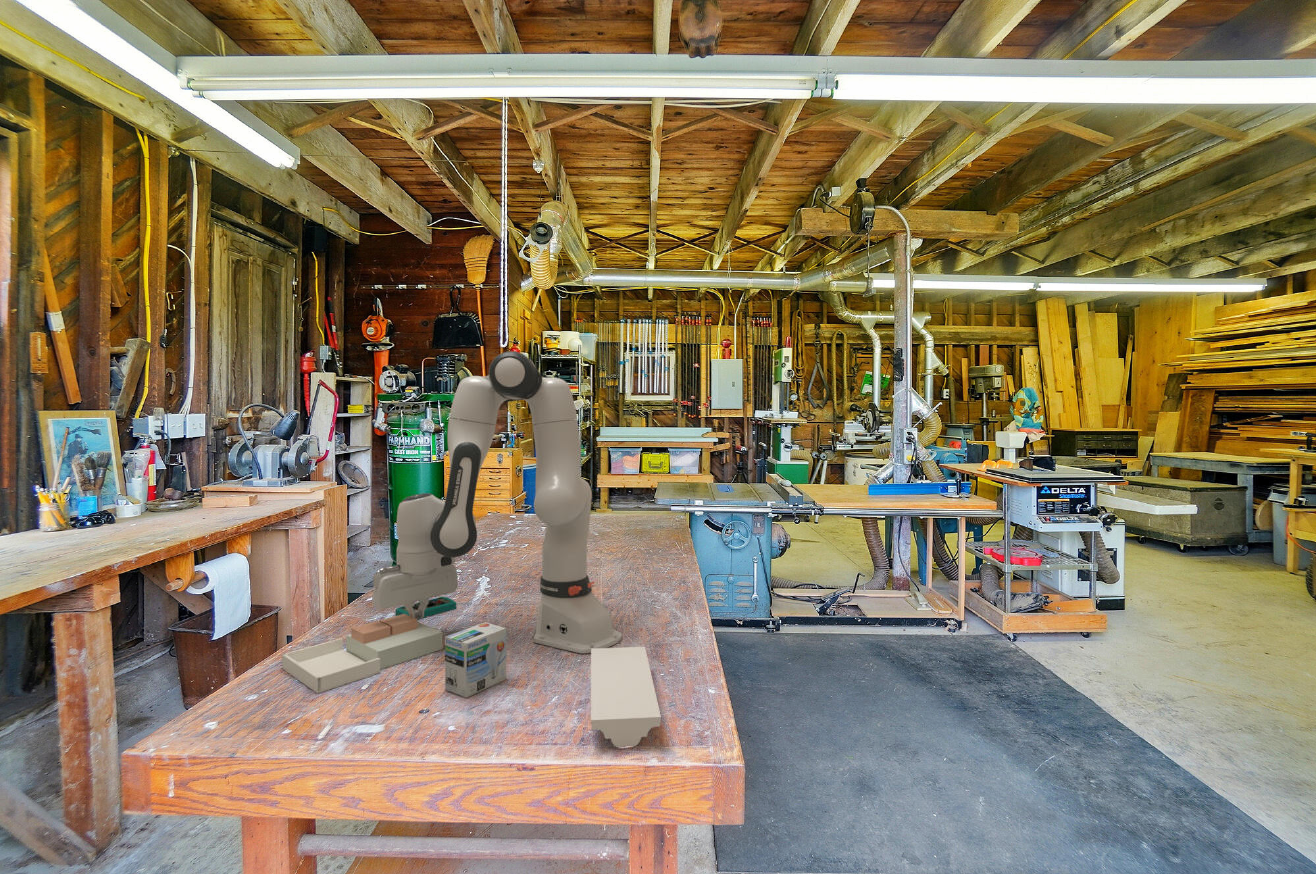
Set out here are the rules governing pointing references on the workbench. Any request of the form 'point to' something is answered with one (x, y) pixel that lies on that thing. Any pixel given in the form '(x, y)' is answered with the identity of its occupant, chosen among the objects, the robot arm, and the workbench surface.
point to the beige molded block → (622, 695)
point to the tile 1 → (370, 632)
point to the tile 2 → (400, 624)
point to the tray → (327, 666)
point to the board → (397, 646)
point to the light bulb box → (475, 659)
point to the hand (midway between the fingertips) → (416, 618)
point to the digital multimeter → (431, 607)
